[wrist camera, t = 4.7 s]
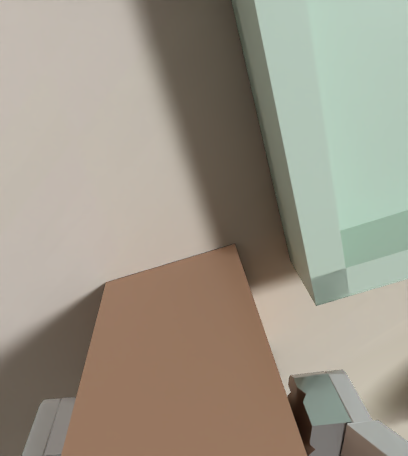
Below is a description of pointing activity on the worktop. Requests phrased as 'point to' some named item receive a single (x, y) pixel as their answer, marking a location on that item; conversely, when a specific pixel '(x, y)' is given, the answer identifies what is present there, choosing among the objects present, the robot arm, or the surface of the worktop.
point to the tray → (334, 134)
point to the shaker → (182, 368)
